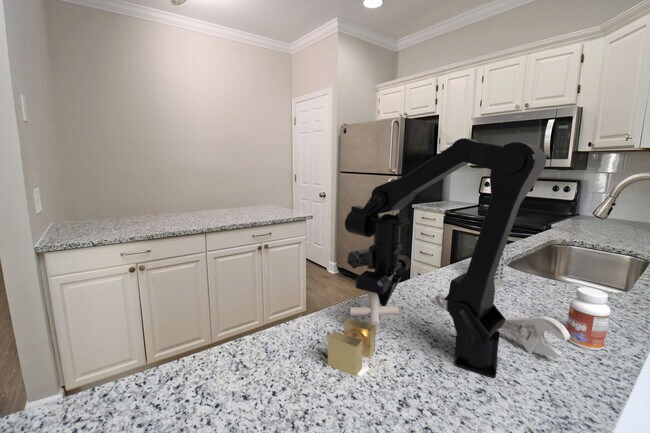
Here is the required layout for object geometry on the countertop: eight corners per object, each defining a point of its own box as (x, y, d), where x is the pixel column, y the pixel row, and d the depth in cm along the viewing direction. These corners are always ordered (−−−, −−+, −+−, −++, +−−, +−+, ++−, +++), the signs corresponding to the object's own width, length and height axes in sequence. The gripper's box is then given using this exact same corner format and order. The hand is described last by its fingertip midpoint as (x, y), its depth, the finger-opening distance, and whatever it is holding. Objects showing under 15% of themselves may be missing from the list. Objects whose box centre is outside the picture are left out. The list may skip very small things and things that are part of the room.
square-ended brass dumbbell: (349, 343, 62) (349, 317, 61) (374, 351, 59) (375, 325, 58) (327, 365, 55) (328, 337, 54) (355, 376, 52) (356, 346, 51)
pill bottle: (557, 334, 66) (564, 285, 64) (586, 334, 66) (594, 285, 64) (581, 351, 60) (589, 298, 58) (613, 351, 60) (622, 298, 58)
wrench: (439, 313, 81) (570, 367, 54) (434, 315, 80) (565, 370, 53) (438, 283, 81) (570, 322, 54) (433, 285, 80) (565, 325, 53)
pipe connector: (402, 346, 61) (399, 301, 58) (352, 347, 62) (347, 303, 60) (396, 317, 70) (394, 278, 68) (353, 318, 72) (349, 280, 69)
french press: (463, 277, 99) (469, 200, 95) (496, 275, 101) (504, 200, 96) (482, 289, 90) (489, 204, 86) (518, 287, 91) (527, 204, 87)
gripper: (370, 228, 80) (368, 284, 83) (334, 245, 64) (333, 313, 68) (412, 234, 74) (408, 294, 77) (383, 255, 59) (380, 328, 62)
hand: (383, 305), depth 71 cm, fingers closed
